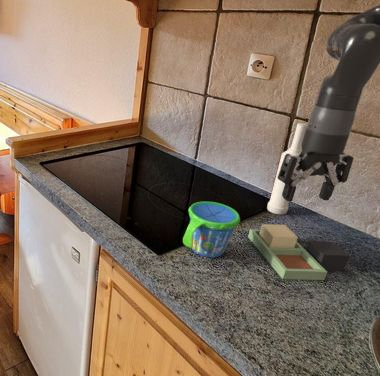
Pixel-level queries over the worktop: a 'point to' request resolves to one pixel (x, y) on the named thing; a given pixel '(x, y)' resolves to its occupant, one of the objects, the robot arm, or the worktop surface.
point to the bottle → (277, 200)
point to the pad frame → (289, 260)
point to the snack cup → (210, 228)
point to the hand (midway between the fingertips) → (305, 199)
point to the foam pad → (277, 236)
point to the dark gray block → (328, 254)
